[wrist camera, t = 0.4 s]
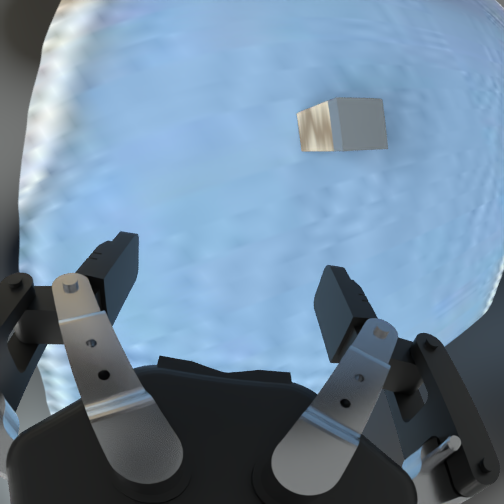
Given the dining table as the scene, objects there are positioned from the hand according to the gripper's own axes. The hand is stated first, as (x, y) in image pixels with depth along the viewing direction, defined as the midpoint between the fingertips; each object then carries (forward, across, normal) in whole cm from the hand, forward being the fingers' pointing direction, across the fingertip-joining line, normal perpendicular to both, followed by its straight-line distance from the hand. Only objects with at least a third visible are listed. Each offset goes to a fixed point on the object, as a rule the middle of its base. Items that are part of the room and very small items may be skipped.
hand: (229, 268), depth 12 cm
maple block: (+28, -9, -5) cm, 30 cm away
